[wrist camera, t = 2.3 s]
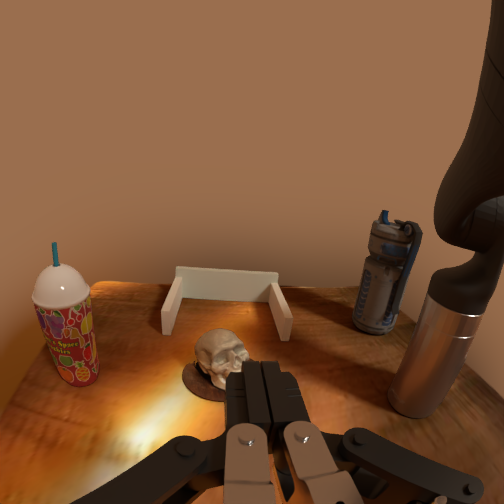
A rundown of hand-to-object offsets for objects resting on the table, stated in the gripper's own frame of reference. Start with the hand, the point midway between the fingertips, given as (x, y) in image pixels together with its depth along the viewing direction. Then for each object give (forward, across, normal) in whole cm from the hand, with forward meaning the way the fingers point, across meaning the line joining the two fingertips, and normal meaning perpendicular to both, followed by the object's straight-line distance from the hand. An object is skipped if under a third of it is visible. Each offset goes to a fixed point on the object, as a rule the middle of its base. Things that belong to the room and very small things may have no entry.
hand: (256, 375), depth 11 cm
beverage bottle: (+36, -32, +20) cm, 52 cm away
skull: (+22, +1, +20) cm, 30 cm away
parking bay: (+40, 0, +20) cm, 45 cm away
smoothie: (+18, +22, +20) cm, 35 cm away
